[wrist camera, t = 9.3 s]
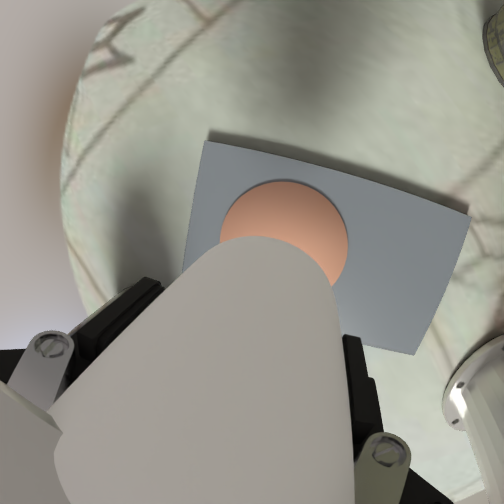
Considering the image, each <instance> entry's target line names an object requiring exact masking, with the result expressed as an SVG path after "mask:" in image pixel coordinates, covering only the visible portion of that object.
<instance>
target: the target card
mask: <svg viewBox="0 0 504 504" xmlns="http://www.w3.org/2000/svg"><path fill="white" fill-rule="evenodd" d="M471 218H472V217H470V216H468V215H466V214H463V213H461V212H458V211H456V210H453V209H451V208H448V207H445V206H443V205H440V204H438V203H435V202H432V201H429V200H427V199H424V198H421V197H418V196H416V195H413V194H410V193H407V192H404V191H401V190H398V189H395V188H392V187H389V186H386V185H383V184H380V183H377V182H374V181H370V180H367V179H364V178H361V177H357V176H354V175H351V174H347V173H344V172H340V171H337V170H333V169H329V168H326V167H322V166H318V165H315V164H311V163H307V162H303V161H299V160H295V159H291V158H287V157H283V156H279V155H274V154H270V153H266V152H261V151H256V150H252V149H247V148H242V147H237V146H232V145H227V144H222V143H217V142H211V141H204V146H203V151H202V156H201V161H200V166H199V171H198V177H197V182H196V188H195V193H194V199H193V205H192V211H191V217H190V223H189V229H188V235H187V242H186V248H185V255H184V262H183V269H182V273H183V272H184V271H186V270H187V269H188V268H189V267H190V266H191V265H192V264H193V263H194V262H195V261H196V260H197V259H199V258H200V257H201V256H202V255H203V254H204V253H206V252H207V251H208V250H210V249H211V248H213V247H214V246H216V245H218V244H220V243H222V242H225V241H227V240H230V239H234V238H238V237H244V236H264V237H271V238H275V239H279V240H282V241H285V242H287V243H290V244H292V245H294V246H296V247H298V248H299V249H301V250H302V251H304V252H305V253H307V254H308V255H309V256H310V257H311V258H313V259H314V260H315V261H316V262H317V263H318V265H319V266H320V267H321V268H322V270H323V271H324V273H325V274H326V276H327V278H328V280H329V282H330V285H331V287H332V290H333V293H334V296H335V300H336V304H337V310H338V315H339V322H340V328H341V335H342V337H343V335H344V334H348V335H352V336H356V337H360V338H361V341H362V344H363V345H368V346H372V347H376V348H381V349H386V350H390V351H395V352H400V353H404V354H409V355H415V353H416V351H417V349H418V347H419V345H420V343H421V341H422V339H423V337H424V335H425V333H426V331H427V329H428V327H429V325H430V323H431V321H432V319H433V317H434V315H435V313H436V310H437V308H438V306H439V304H440V302H441V299H442V297H443V295H444V292H445V290H446V288H447V285H448V283H449V280H450V278H451V275H452V273H453V270H454V268H455V265H456V262H457V260H458V257H459V254H460V251H461V249H462V246H463V243H464V240H465V237H466V234H467V231H468V228H469V225H470V221H471Z"/></svg>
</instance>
